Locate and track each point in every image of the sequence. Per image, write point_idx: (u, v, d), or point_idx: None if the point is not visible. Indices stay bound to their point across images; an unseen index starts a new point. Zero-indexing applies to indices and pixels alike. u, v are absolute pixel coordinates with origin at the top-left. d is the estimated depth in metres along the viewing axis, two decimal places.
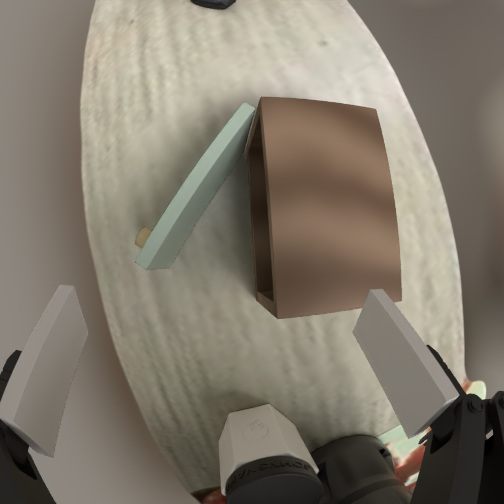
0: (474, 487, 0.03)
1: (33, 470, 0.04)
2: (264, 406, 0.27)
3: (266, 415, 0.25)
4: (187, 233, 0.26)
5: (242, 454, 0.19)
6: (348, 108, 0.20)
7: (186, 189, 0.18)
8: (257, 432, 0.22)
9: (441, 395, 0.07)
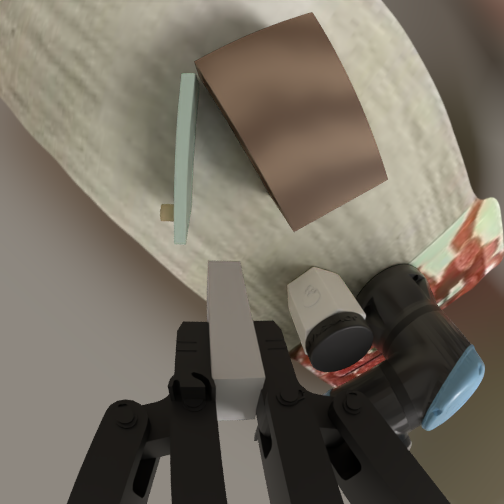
0: (332, 499, 0.04)
1: None
2: (310, 270, 0.38)
3: (314, 279, 0.36)
4: None
5: (308, 321, 0.32)
6: (283, 25, 0.15)
7: (179, 175, 0.21)
8: (312, 297, 0.34)
9: (237, 370, 0.08)
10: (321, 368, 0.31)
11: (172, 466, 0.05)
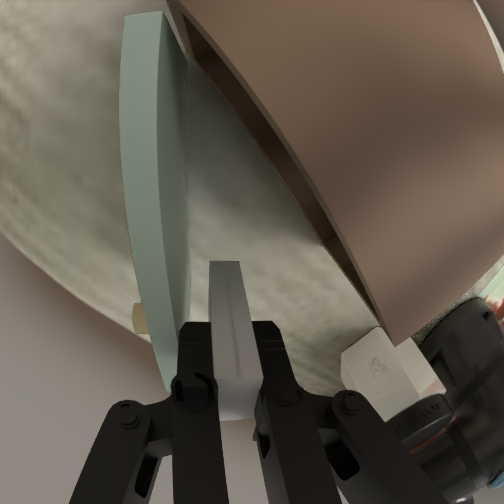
0: (330, 499, 0.04)
1: None
2: (373, 333, 0.25)
3: (380, 348, 0.23)
4: (186, 240, 0.16)
5: None
6: None
7: (151, 287, 0.08)
8: (381, 378, 0.21)
9: (235, 371, 0.08)
10: None
11: (174, 466, 0.05)
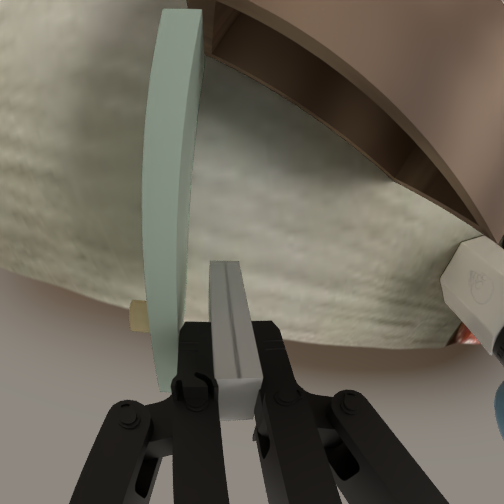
0: (330, 499, 0.04)
1: None
2: (461, 249, 0.22)
3: (473, 260, 0.20)
4: None
5: (492, 323, 0.17)
6: None
7: (158, 286, 0.08)
8: (483, 288, 0.18)
9: (235, 370, 0.08)
10: None
11: (174, 466, 0.05)
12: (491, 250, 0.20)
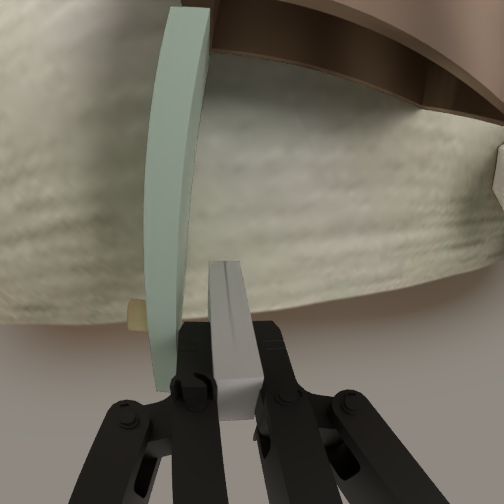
0: (331, 499, 0.04)
1: None
2: (500, 153, 0.17)
3: None
4: (186, 241, 0.16)
5: None
6: None
7: (158, 286, 0.08)
8: None
9: (236, 371, 0.08)
10: None
11: (173, 466, 0.05)
12: None
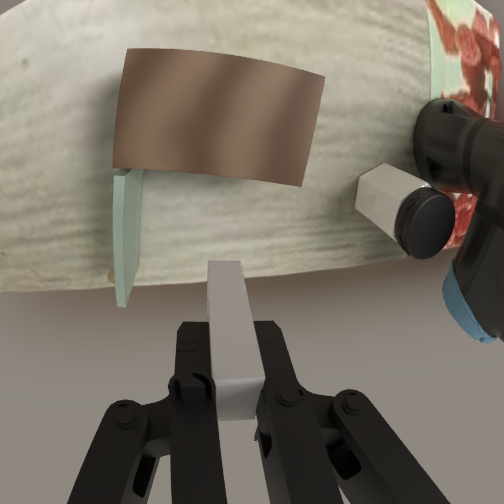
0: (332, 499, 0.04)
1: None
2: (359, 181, 0.34)
3: (367, 186, 0.33)
4: (137, 243, 0.32)
5: (387, 227, 0.29)
6: (125, 81, 0.17)
7: (117, 259, 0.25)
8: (376, 204, 0.31)
9: (237, 370, 0.08)
10: (429, 256, 0.28)
11: (172, 466, 0.05)
12: (384, 173, 0.32)
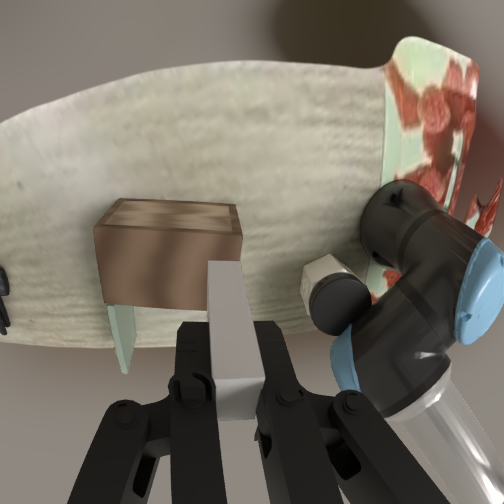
0: (332, 499, 0.04)
1: None
2: (303, 268, 0.44)
3: (304, 273, 0.42)
4: (132, 325, 0.43)
5: (306, 306, 0.38)
6: (98, 251, 0.27)
7: (118, 349, 0.35)
8: (304, 287, 0.40)
9: (237, 371, 0.08)
10: None
11: (172, 466, 0.05)
12: (320, 262, 0.42)
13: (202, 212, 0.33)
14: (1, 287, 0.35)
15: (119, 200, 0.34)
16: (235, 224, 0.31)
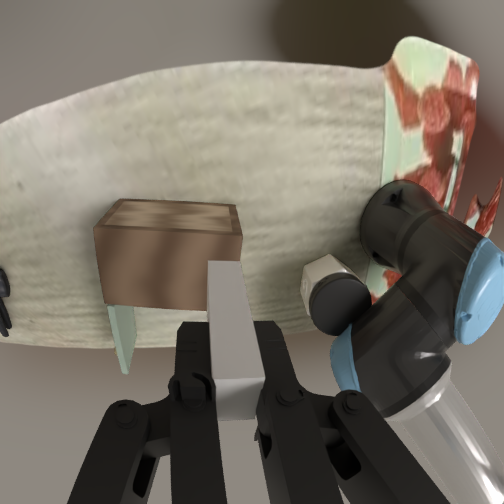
0: (332, 499, 0.04)
1: None
2: None
3: (304, 273, 0.42)
4: (133, 325, 0.43)
5: (306, 306, 0.38)
6: (98, 251, 0.27)
7: (118, 349, 0.35)
8: (304, 287, 0.40)
9: (237, 370, 0.08)
10: None
11: (172, 466, 0.05)
12: (320, 262, 0.42)
13: (202, 213, 0.33)
14: (1, 288, 0.36)
15: (119, 200, 0.34)
16: (235, 224, 0.31)
